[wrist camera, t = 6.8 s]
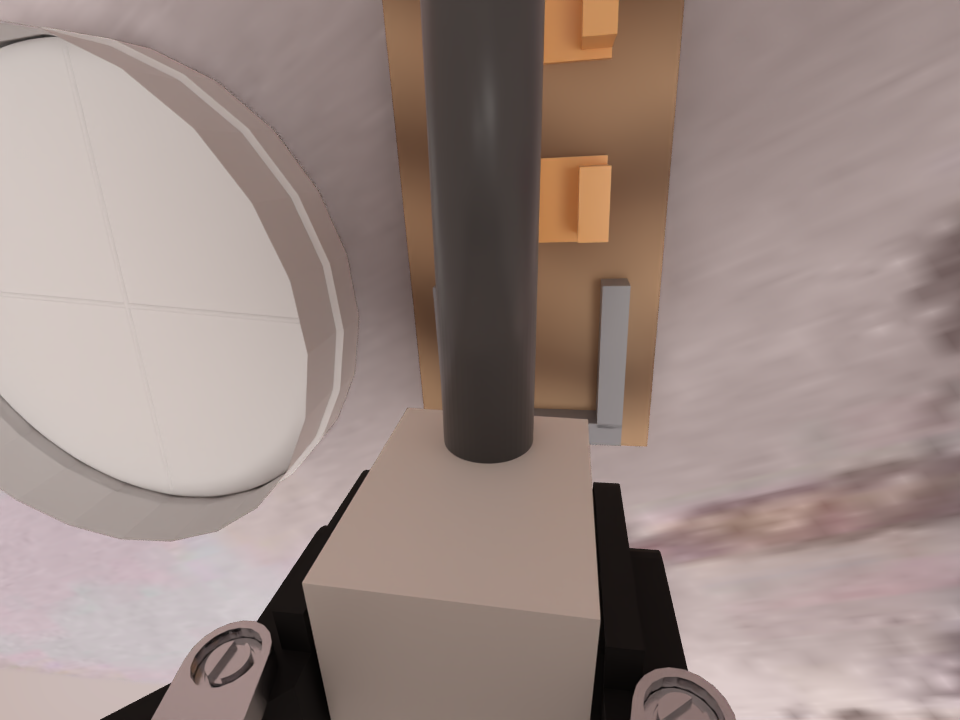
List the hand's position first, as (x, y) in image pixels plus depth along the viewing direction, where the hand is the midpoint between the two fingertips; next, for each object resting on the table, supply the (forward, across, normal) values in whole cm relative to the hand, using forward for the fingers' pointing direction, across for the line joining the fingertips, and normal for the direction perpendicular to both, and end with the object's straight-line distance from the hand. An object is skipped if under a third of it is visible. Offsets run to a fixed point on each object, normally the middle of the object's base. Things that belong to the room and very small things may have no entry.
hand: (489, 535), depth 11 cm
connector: (+1, 0, -7) cm, 7 cm away
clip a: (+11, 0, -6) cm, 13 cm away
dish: (+13, +19, -2) cm, 23 cm away
